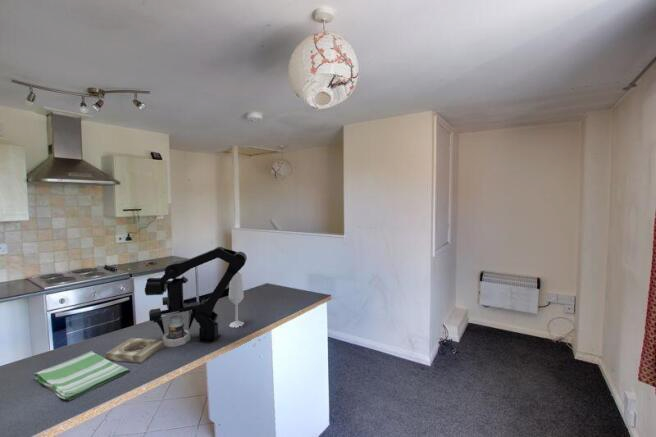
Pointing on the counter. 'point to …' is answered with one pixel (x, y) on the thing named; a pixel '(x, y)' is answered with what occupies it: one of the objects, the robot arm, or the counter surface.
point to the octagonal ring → (178, 341)
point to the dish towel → (79, 375)
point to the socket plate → (136, 356)
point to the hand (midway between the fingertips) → (176, 331)
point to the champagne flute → (236, 296)
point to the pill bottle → (176, 327)
